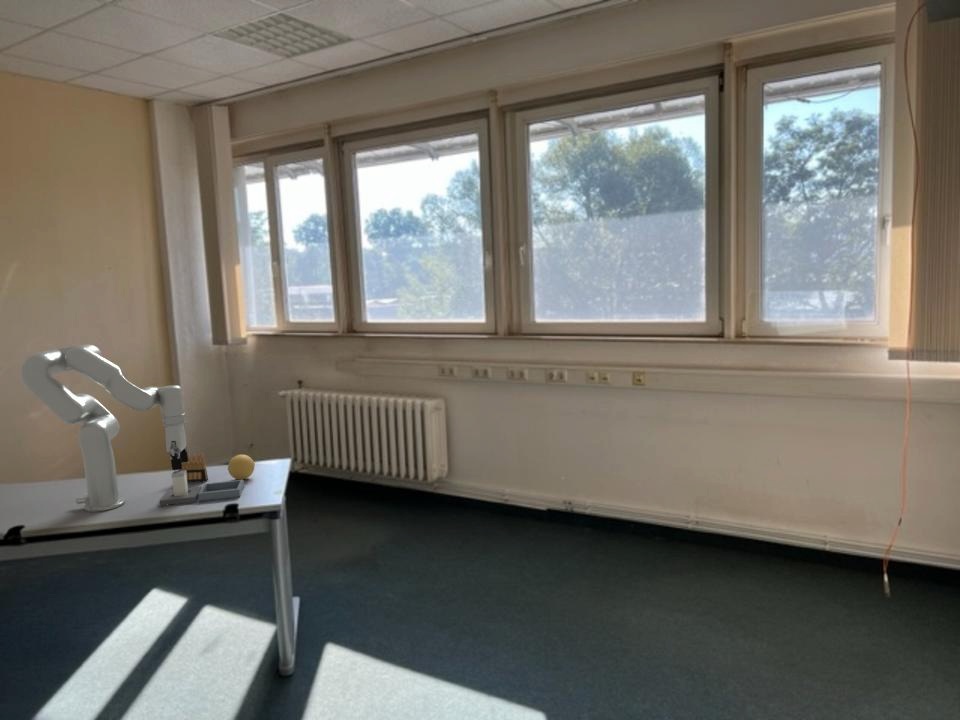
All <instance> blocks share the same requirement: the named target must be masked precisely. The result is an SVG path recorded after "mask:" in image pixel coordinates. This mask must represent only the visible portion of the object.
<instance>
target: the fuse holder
mask: <svg viewBox="0 0 960 720" xmlns="http://www.w3.org/2000/svg"><path fill="white" fill-rule="evenodd" d="M202 487H203V486H193V487H188V493H189V494H188V495H182V496H174V491H173V489H167V490H166V491H165V493H164V494H163V495H162V496H161V498H160V499H159V501H158V503H159V506H160V505H165V506H168V505H167V504H174V505H180V504H179V503H183V504H190V502H192V503H197V501H198V500H199V498H198V493H199V492H200V490H201V488H202ZM197 499H198V500H197Z"/></svg>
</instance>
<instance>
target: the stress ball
mask: <svg viewBox="0 0 960 720" xmlns="http://www.w3.org/2000/svg"><path fill="white" fill-rule="evenodd" d="M227 471H228V473H229V475H230V476H231V477H232V478H233V479H234V480H235V479H236V480H243V479H245V480H246V479H248V478H249V477H251V476H252V474H253V472H254V471H255V460H253V459H252V457H250V455H248V454H237V455H235V456H234V457H232V458H231V459H230V460H229V462H228V464H227Z"/></svg>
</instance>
